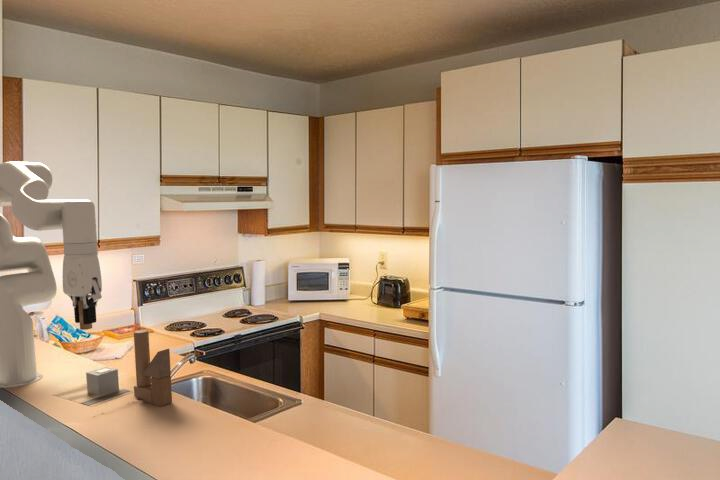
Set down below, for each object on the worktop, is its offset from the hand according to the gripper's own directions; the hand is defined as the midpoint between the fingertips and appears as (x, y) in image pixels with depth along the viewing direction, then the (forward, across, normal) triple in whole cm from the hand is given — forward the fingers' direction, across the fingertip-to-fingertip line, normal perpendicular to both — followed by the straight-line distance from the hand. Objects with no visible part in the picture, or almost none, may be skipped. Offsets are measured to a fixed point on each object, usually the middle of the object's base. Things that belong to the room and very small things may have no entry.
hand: (85, 321), depth 145 cm
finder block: (+21, -5, +7) cm, 22 cm away
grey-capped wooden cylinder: (+2, 0, 0) cm, 2 cm away
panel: (+22, -6, +4) cm, 23 cm away
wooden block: (+22, +11, +10) cm, 27 cm away
